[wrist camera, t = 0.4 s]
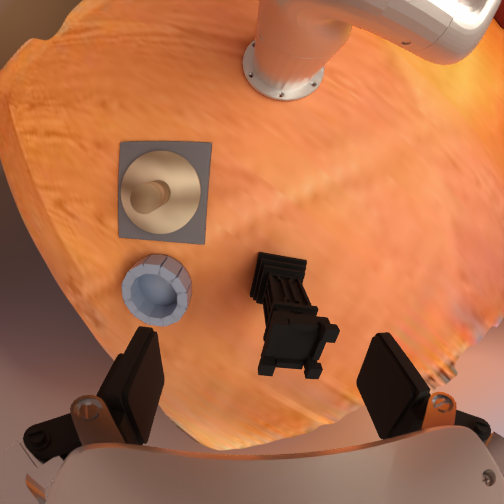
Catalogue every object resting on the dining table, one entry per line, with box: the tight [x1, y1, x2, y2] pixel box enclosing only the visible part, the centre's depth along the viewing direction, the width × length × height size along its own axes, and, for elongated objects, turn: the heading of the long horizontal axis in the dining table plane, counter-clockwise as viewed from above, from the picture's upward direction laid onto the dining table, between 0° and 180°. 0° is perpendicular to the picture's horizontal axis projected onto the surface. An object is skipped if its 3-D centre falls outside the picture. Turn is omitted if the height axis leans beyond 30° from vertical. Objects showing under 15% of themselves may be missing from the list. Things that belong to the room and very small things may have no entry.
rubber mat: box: [118, 141, 212, 245], centre depth 41 cm, size 16×15×1 cm
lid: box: [121, 151, 201, 234], centre depth 37 cm, size 13×13×8 cm
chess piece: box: [250, 252, 340, 379], centre depth 37 cm, size 8×8×20 cm
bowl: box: [121, 254, 192, 327], centre depth 44 cm, size 11×11×5 cm
